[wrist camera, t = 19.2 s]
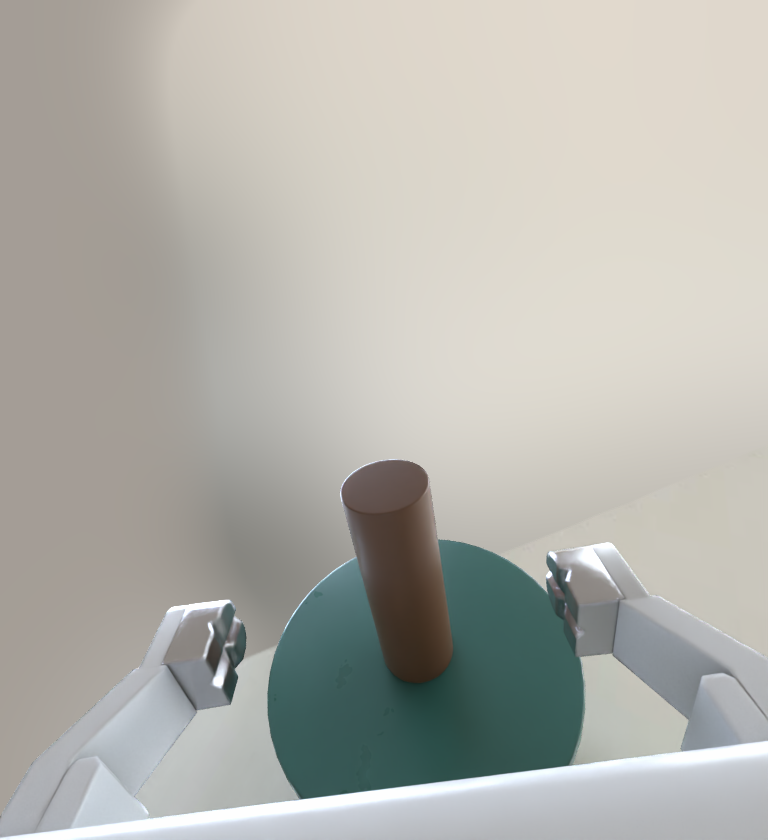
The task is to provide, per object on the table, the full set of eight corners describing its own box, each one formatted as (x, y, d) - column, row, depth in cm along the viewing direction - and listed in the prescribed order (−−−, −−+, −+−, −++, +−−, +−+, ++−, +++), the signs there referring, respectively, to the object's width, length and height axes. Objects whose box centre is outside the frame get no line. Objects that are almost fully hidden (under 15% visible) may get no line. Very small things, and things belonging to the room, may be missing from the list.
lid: (216, 830, 13) (72, 650, 9) (329, 553, 22) (285, 406, 18) (627, 923, 10) (687, 719, 6) (556, 560, 20) (561, 388, 16)
